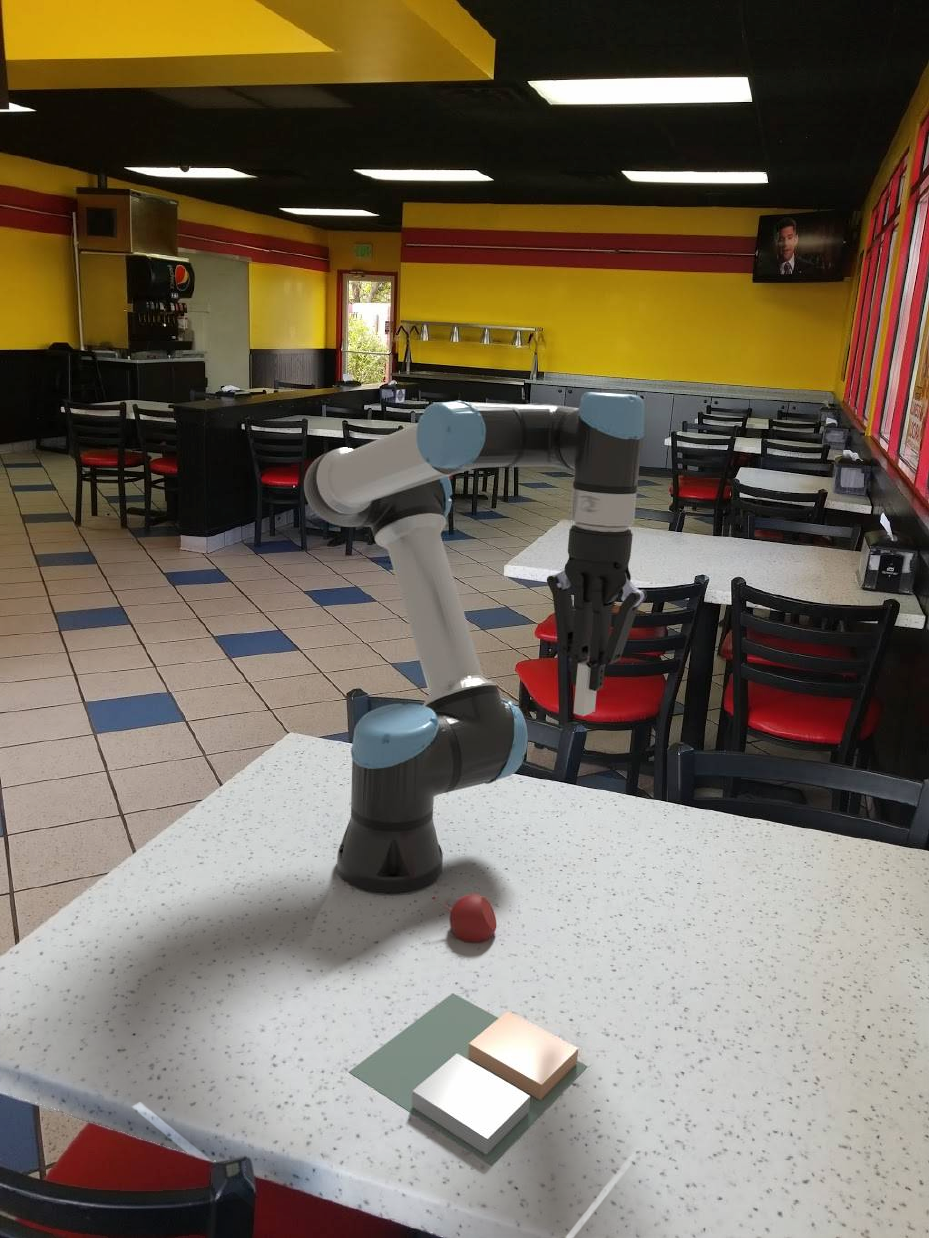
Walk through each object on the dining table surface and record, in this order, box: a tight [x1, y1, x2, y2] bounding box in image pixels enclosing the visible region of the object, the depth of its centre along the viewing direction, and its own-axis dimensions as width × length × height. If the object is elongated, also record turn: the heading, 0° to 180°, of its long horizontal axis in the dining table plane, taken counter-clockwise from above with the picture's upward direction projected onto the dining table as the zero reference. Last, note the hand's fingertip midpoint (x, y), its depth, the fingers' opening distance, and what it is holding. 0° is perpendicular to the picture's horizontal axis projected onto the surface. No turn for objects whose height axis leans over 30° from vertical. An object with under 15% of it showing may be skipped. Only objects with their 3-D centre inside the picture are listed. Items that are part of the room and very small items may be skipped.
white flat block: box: [412, 1053, 530, 1155], centre depth 93 cm, size 2×7×9 cm
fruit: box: [431, 893, 497, 944], centre depth 122 cm, size 6×6×8 cm
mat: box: [348, 993, 589, 1167], centre depth 99 cm, size 18×17×1 cm
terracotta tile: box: [468, 1010, 579, 1100], centre depth 100 cm, size 2×7×9 cm
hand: (584, 711), depth 120 cm, fingers closed
